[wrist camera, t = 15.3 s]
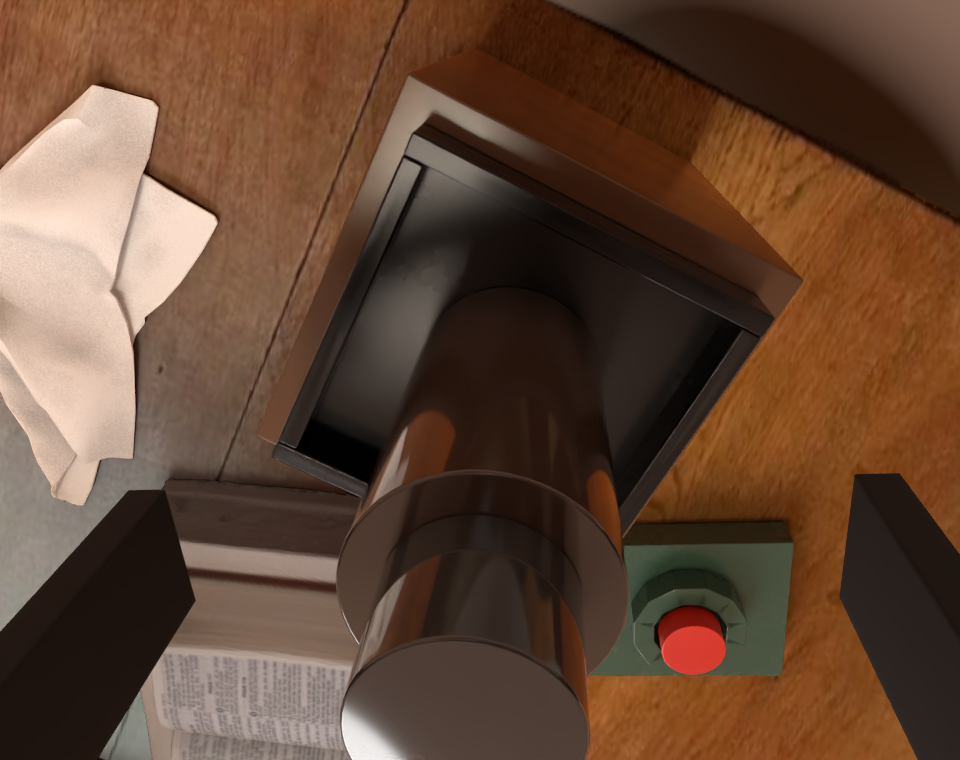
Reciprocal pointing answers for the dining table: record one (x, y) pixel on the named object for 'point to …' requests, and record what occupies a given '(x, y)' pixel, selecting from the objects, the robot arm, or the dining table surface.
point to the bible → (254, 627)
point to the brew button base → (706, 593)
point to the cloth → (86, 279)
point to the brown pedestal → (527, 271)
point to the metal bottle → (486, 545)
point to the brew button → (691, 640)
